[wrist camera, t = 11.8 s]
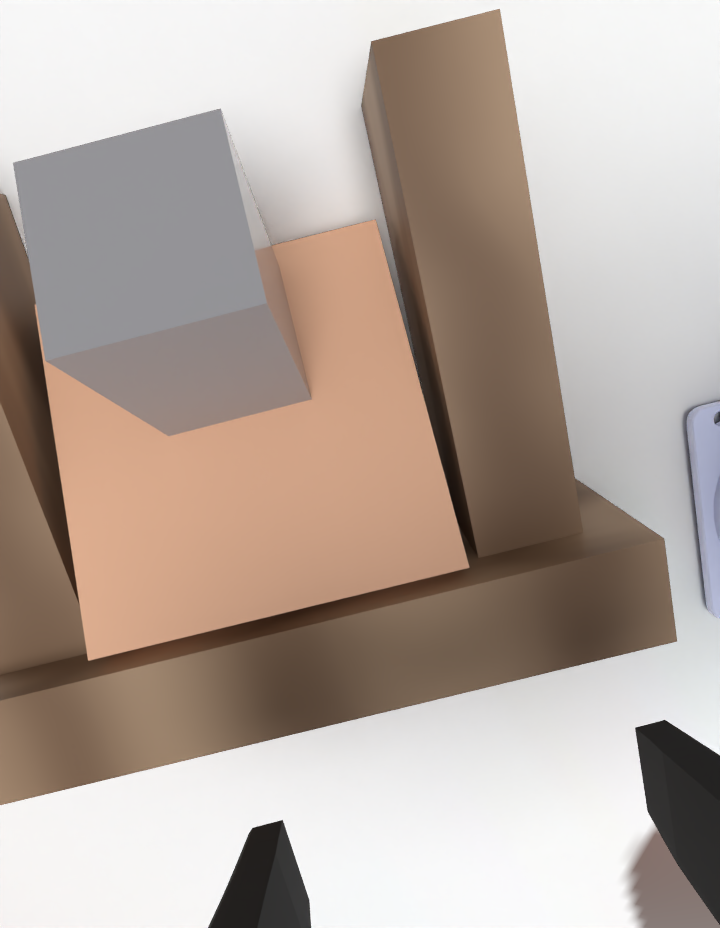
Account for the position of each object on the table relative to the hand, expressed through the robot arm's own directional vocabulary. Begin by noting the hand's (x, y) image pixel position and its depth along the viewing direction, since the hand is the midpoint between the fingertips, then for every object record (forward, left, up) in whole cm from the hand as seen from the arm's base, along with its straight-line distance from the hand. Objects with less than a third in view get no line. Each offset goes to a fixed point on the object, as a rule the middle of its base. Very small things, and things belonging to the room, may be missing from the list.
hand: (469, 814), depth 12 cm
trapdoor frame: (+3, -8, -10) cm, 14 cm away
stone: (+3, -10, -7) cm, 13 cm away
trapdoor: (+3, -7, -8) cm, 11 cm away
